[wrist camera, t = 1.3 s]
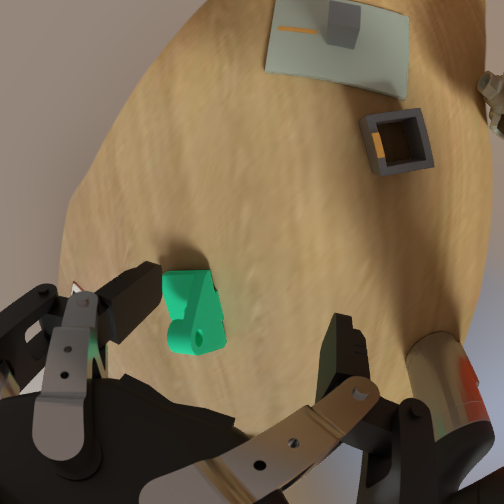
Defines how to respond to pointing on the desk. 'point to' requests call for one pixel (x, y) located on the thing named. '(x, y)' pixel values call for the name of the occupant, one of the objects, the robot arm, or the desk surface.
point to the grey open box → (414, 136)
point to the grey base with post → (341, 44)
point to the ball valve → (494, 100)
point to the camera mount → (193, 312)
